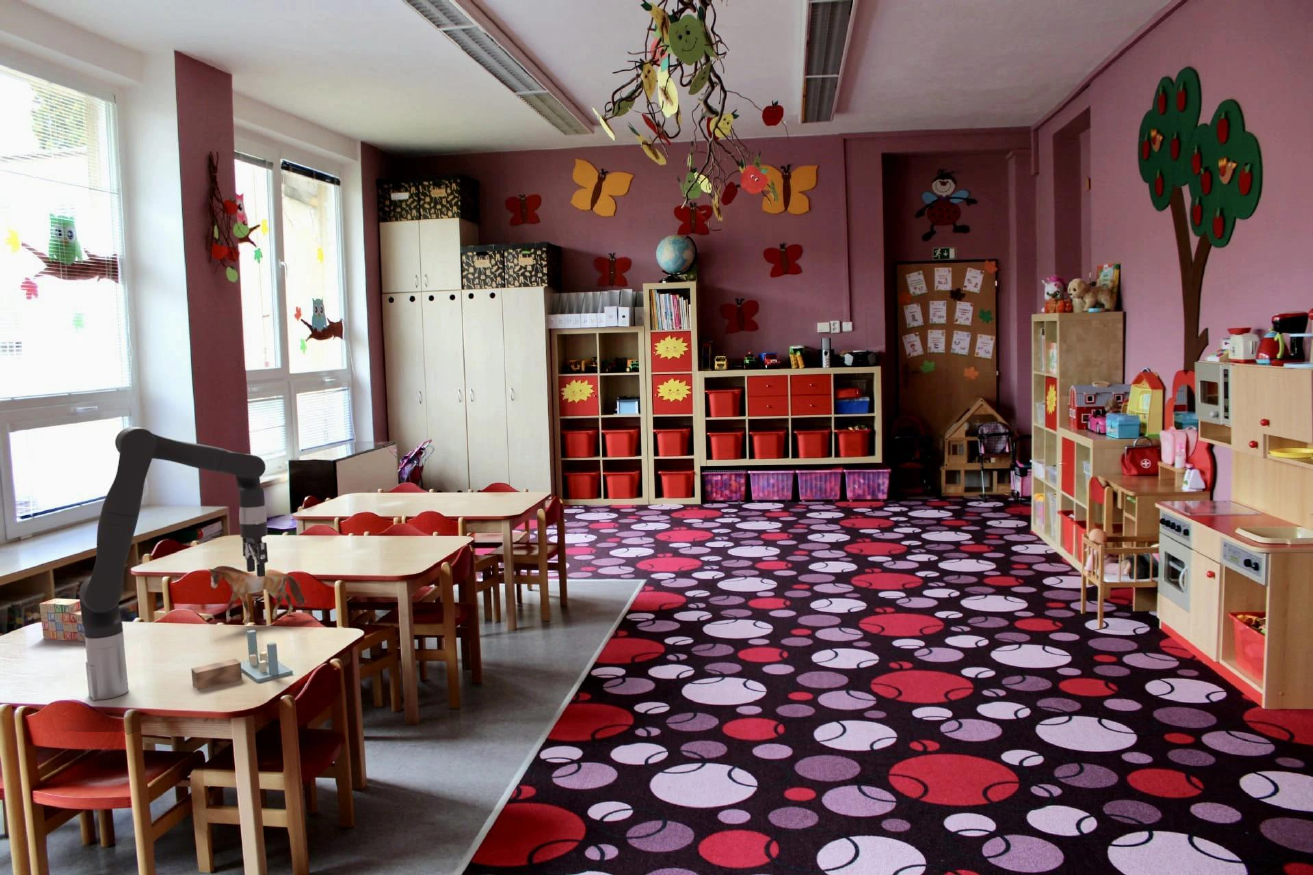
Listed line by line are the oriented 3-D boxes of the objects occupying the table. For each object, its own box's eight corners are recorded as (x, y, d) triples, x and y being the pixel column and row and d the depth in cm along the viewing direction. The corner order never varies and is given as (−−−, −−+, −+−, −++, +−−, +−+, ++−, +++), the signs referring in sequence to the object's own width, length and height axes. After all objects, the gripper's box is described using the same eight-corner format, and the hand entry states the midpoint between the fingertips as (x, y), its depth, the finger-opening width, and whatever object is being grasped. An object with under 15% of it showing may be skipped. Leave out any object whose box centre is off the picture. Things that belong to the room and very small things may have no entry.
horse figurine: (211, 627, 332) (206, 568, 330) (216, 621, 340) (211, 563, 338) (307, 618, 340) (303, 560, 338) (310, 612, 347) (306, 555, 345)
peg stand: (257, 682, 277) (254, 648, 275) (235, 666, 291) (233, 634, 290) (292, 673, 283) (290, 640, 282) (269, 658, 297) (267, 626, 296)
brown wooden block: (197, 690, 273) (196, 672, 272) (192, 685, 277) (191, 668, 276) (242, 679, 280) (240, 662, 280) (236, 675, 284) (235, 658, 284)
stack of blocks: (108, 636, 326) (105, 600, 325) (93, 642, 320) (89, 605, 319) (58, 632, 332) (55, 597, 331) (42, 638, 326) (38, 602, 325)
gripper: (232, 519, 295) (235, 572, 297) (248, 525, 285) (251, 580, 286) (257, 516, 300) (260, 568, 302) (274, 522, 290) (277, 575, 291)
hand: (256, 573), depth 294 cm, fingers open, 8 cm apart
